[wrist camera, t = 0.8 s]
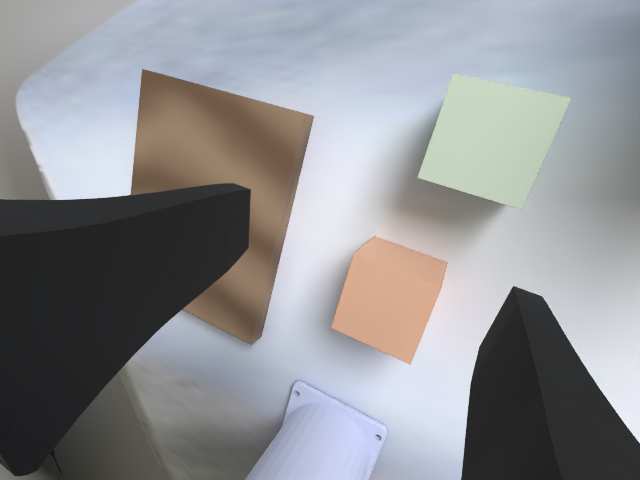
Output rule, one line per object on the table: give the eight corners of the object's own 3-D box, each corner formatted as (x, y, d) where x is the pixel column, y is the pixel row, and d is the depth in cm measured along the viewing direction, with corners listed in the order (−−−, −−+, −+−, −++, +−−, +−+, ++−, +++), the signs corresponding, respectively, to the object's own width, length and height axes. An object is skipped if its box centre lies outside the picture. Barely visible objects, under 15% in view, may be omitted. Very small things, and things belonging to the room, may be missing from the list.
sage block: (512, 198, 22) (521, 209, 17) (428, 173, 23) (417, 177, 19) (550, 111, 20) (571, 97, 15) (458, 90, 21) (453, 73, 17)
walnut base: (261, 336, 31) (251, 344, 29) (136, 274, 35) (123, 278, 33) (313, 116, 25) (304, 113, 24) (157, 73, 29) (142, 69, 28)
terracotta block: (421, 327, 25) (410, 364, 21) (355, 299, 27) (330, 327, 22) (447, 262, 24) (441, 287, 19) (375, 236, 25) (353, 253, 21)
